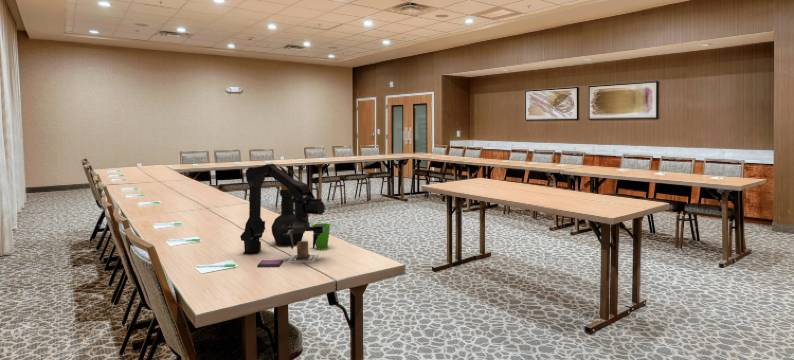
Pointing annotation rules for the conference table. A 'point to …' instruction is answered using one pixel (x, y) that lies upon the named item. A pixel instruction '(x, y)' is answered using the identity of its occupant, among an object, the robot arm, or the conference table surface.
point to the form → (293, 260)
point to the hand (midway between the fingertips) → (303, 248)
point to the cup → (322, 236)
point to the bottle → (285, 219)
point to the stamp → (302, 250)
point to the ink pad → (270, 263)
